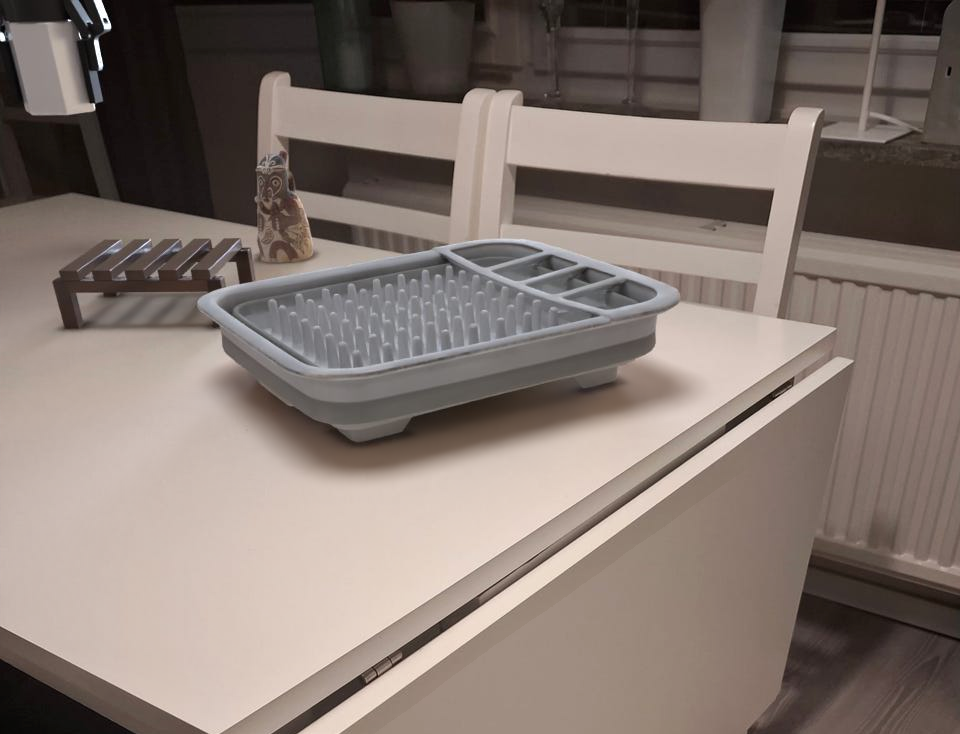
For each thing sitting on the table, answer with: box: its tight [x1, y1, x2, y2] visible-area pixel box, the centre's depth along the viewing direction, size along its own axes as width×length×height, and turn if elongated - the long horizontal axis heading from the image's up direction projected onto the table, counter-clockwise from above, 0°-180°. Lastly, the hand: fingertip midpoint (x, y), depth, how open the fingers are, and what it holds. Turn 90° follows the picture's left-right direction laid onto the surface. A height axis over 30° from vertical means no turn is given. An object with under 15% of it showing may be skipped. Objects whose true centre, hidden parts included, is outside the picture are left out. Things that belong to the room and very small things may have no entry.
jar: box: [0, 0, 96, 116], centre depth 124 cm, size 9×8×12 cm
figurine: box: [254, 150, 314, 264], centre depth 128 cm, size 7×7×12 cm
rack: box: [52, 237, 257, 330], centre depth 112 cm, size 18×14×6 cm
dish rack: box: [196, 238, 682, 443], centre depth 92 cm, size 32×37×8 cm
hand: (58, 102), depth 127 cm, fingers closed on jar, 9 cm apart
